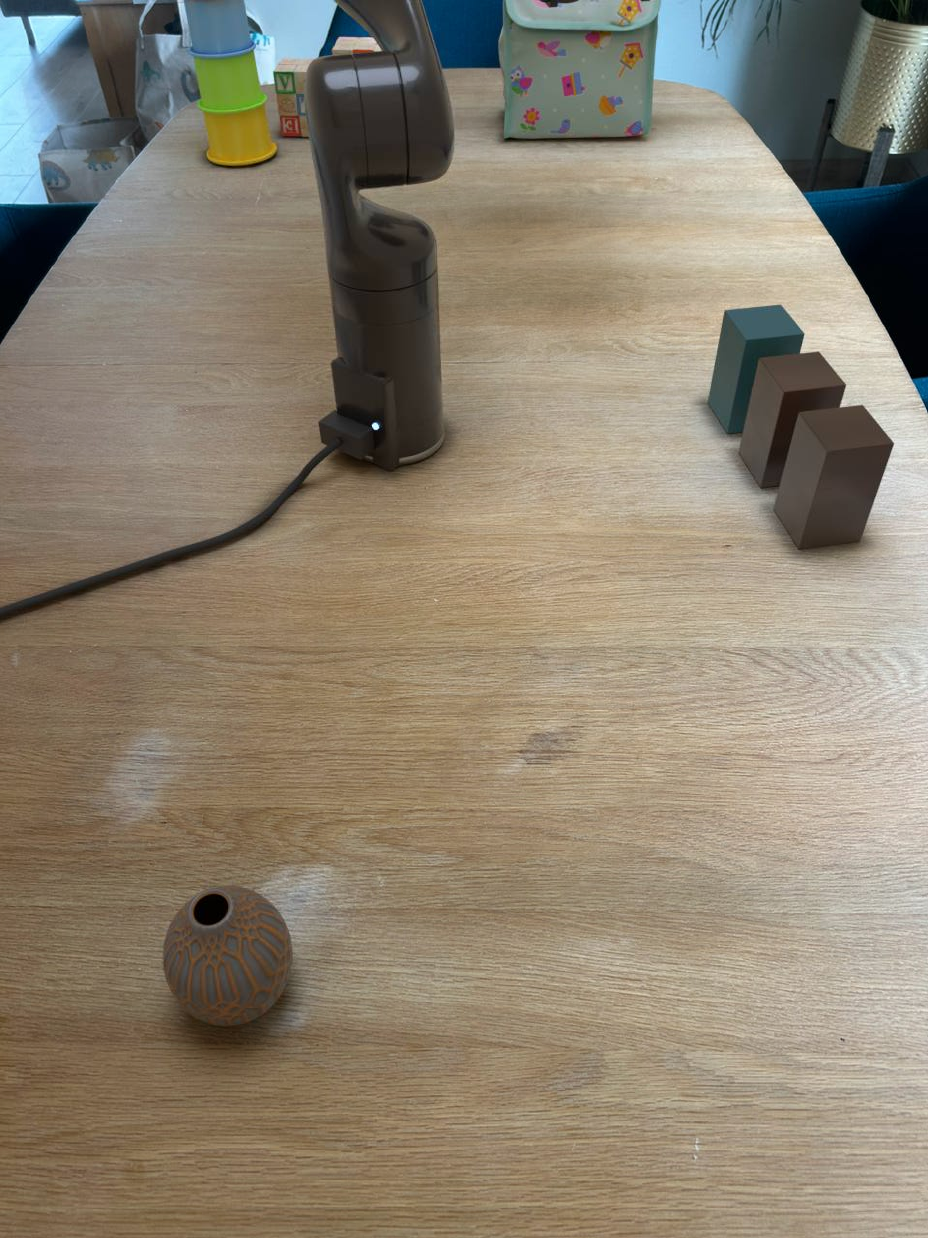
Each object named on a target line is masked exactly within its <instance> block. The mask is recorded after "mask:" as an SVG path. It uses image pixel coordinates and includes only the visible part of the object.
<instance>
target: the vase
mask: <svg viewBox="0 0 928 1238" xmlns="http://www.w3.org/2000/svg"><path fill="white" fill-rule="evenodd" d="M162 948H163V949H162V968H163V973H164V978H165V980H166V983H167V985H168V988H169V990H170V992H171V994H172V995H173V997H174V999H175V1000H176V1001H177V1003H178V1005H180V1006H181V1008H182V1009H183V1010H184V1011H186V1013H188V1014H189V1015H191V1016H192V1017H194V1018H196V1019H197V1020H199V1021H201V1022H203V1023H207V1024H210V1025H214V1026H219V1027H231V1026H232V1027H233V1026H239V1025H243V1024H246V1023H249V1022H252V1021H254V1020H256V1019H257V1018H259V1017H262V1015H264V1014H265V1013H267V1011H269V1010H270V1009H271V1008H272V1007H273V1006H274V1005H275V1004H276V1003H277V1001H278V1000H279V998H280V997H281V996H282V994H283V992H284V991H285V989H286V986H287V984H288V981H289V979H290V976H291V972H292V966H293V959H294V958H293V956H294V954H293V943H292V939H291V934H290V930H289V928H288V925H287V922H286V920H285V919H284V917H283V915H282V914H281V912H280V911H279V909H278V908H277V907H276V906H275V905H274V904H273V903H272V902H271V901H270V900H268V899H267V898H266V897H264V896H263V895H262V894H260V893H258V892H256V890H252V889H249V888H247V887H242V886H239V885H238V886H237V885H222V886H217V887H212V888H211V887H210V888H207V889H204V890H202V891H200V892H199V893H197V894H196V895H195V896H193V897H192V898H190V899H188V900H187V902H186V903H184V904H183V905H182V907H181V908H180V909H179V910H178V911H177V912H176V914H175V915H174V916H173V919H172V920H171V922H170V924H169V926H168V928H167V931H166V934H165V938H164V942H163V947H162Z"/></svg>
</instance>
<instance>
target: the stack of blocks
mask: <svg viewBox="0 0 928 1238" xmlns="http://www.w3.org/2000/svg"><path fill="white" fill-rule="evenodd" d="M378 51H382V50H381V49H380V47H379V45H378V44H377V43H376V41H375V40H374V38H373V37H372V36H371V37H369V36H368V37H366V36H365V37H364V36H363V37H362V36H361V37H357V36H339V37H338V38H337V39H336V41H335V43H334V46H333V47H332V49H331V55H341V54H353V53H366V52H378ZM314 59H315V58H291V57H290V58H289V57H288V58H284V57H283V58H281V59H280V61H279V62H278V63H277V65H276V66H275V68H274V69H273V70H272V75H273V76H272V77H273V82H274V91H275V94H276V103H277V110H278V111H277V112H278V115H279V125H280V133H281V136H282V137H302V138H309V135H308V128H307V121H306V114H305V102H304V81H305V76H306V72H307V68H308V66H309V64H310V63H311V62H312V61H313V60H314Z"/></svg>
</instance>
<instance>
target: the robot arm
mask: <svg viewBox="0 0 928 1238" xmlns="http://www.w3.org/2000/svg"><path fill="white" fill-rule="evenodd" d="M332 1H333V2H334V3H335V4H337V6H338V7H340V8H341V9H342V10H343V11H344V12H345V13H346V14H347V15H349V16H350V17H351V18H352V19H353V20H354V21H356V23H358V24H359V25H360V26H361V27H362V28H363V29H364V30H365V31H366V32H368V34H369V35H370V36H371V37H373V38H374V40H375V41H376V43H377V44H378V45H379V47H380V49H381V50H382V51H378V52H366V53H353V54H341V55H332V54H331V55H323V56H319V57H316V58H313V59H314V60H313V61H312V62H311V63H310V64H309V66H308V68H307V72H306V76H305V81H304V102H305V114H306V121H307V128H308V135H309V137H308V140H309V145H310V151H311V152H310V153H311V159H312V162H313V167H314V168H313V169H314V175H315V180H316V186H317V190H318V191H317V192H318V199H319V203H320V204H319V205H320V210H321V211H320V213H321V218H322V227H323V228H322V229H323V236H324V247H325V258H326V268H327V275H328V284H329V293H330V300H331V311H332V319H333V326H334V327H333V328H334V336H335V344H336V353H337V357H335V358H333V359H332V360H331V362H330V368H331V369H330V370H331V376H332V377H331V378H332V385H333V392H334V394H333V395H334V401H335V408H336V409H333V410H332V411H331V412H329V413H328V414H327V415H325V416H324V417H323V418H321V419H319V420H318V430H319V437H320V442H321V444H323V445H326V446H325V447H324V448H322V449H321V450H320V451H319V452H318V453H317V454H315V455H314V456H313V457H312V458H311V459H310V460H309V461H308V462H307V463H306V464H305V466H304V467H303V468H302V469H301V471H300V472H299V473H298V474H297V476H296V477H295V478H293V480H292V481H291V482H290V483H289V484H288V486H287V487H285V489H284V490H283V491H282V492H281V493H280V494H279V496H277V498H276V499H274V501H273V502H271V503H270V505H268V506H267V507H266V508H265V509H264V510H262V511H261V512H260V513H258V514H257V515H255V516H254V517H252V518H251V519H249V520H248V521H246V522H244V523H243V524H240V525H239V526H237V527H234V528H233V529H231V530H229V531H227V532H224V533H222V534H219V535H217V536H213V537H210V538H207V539H204V540H200V541H198V542H197V541H196V542H194V543H191V544H187V545H184V546H180V547H176V548H173V549H170V550H167V551H164V552H161V553H158V554H155V555H151V556H149V557H146V558H143V559H140V560H138V561H134V562H131V563H129V564H125V565H122V566H119V567H116V568H113V569H109V570H107V571H104V572H101V573H98V574H95V575H92V576H89V577H86V578H84V579H80V580H76V581H74V582H70V583H68V584H66V585H63V586H59V587H57V588H53V589H50V590H48V591H45V592H41V593H39V594H35V595H33V596H29V597H27V598H24V599H21V600H18V601H15V602H13V603H9V604H6V605H3V606H1V607H0V619H1V618H4V617H6V616H10V615H12V614H14V613H19V612H21V611H23V610H26V609H29V608H32V607H35V606H37V605H41V604H44V603H46V602H49V601H52V600H56V599H59V598H61V597H65V596H68V595H70V594H73V593H75V592H78V591H82V590H84V589H88V588H91V587H94V586H96V585H97V586H98V585H100V584H102V583H105V582H109V581H112V580H114V579H117V578H121V577H123V576H127V575H130V574H133V573H136V572H138V571H142V570H145V569H147V568H150V567H154V566H156V565H159V564H162V563H164V562H167V561H171V560H174V559H177V558H180V557H181V558H182V557H183V556H187V555H191V554H194V553H198V552H202V551H204V550H208V549H211V548H214V547H218V546H219V545H222V544H225V543H228V542H230V541H232V540H234V539H236V538H238V537H241V536H242V535H244V534H246V533H248V532H249V531H251V530H253V529H254V528H256V527H257V526H259V525H260V524H262V523H263V522H265V521H266V520H267V519H268V518H270V517H271V516H272V515H273V514H274V513H276V512H277V511H278V510H279V509H280V507H281V506H282V505H283V504H284V503H285V502H286V501H287V500H288V499H289V498H290V496H292V495H293V493H294V492H296V491H297V489H298V488H299V487H300V486H302V484H303V483H304V482H305V481H306V480H307V478H308V477H309V475H310V474H311V473H312V471H313V470H314V469H316V467H317V466H318V465H319V464H320V463H322V462H323V461H324V460H325V459H326V458H328V456H330V455H331V454H332V453H333V452H334V451H336V450H337V451H339V452H341V453H343V454H346V455H349V456H351V457H353V458H355V459H357V460H360V461H362V460H364V461H366V462H368V463H372V464H374V465H377V466H379V467H380V468H383V469H385V470H387V471H394V470H395V469H397V467H400V466H403V465H408V464H413V463H417V462H419V461H422V460H424V459H426V458H428V457H431V456H432V455H433V454H435V453H436V452H437V451H438V450H439V449H440V448H441V446H442V445H443V443H444V441H445V435H446V434H445V433H446V432H445V431H446V430H445V424H444V411H443V383H442V382H443V379H442V356H441V355H442V354H441V353H442V352H441V328H440V327H441V325H440V302H439V301H440V299H439V298H440V297H439V296H440V294H439V292H440V291H439V270H438V269H439V266H438V244H437V237H436V235H435V232H434V231H433V229H432V228H431V226H430V225H429V224H427V222H425V221H424V220H422V219H420V218H419V217H418V216H414V215H413V214H410V213H407V212H404V211H400V210H397V209H393V208H390V207H388V206H387V207H386V206H383V205H381V204H378V203H376V202H374V201H372V200H371V199H369V198H367V197H365V196H364V195H363V194H361V193H360V191H363V190H371V189H384V188H393V187H404V186H413V185H420V184H426V183H430V182H433V181H436V180H439V179H441V178H442V177H443V176H445V174H447V172H448V170H449V169H450V166H451V164H452V161H453V158H454V152H455V125H454V116H453V109H452V104H451V98H450V93H449V89H448V84H447V81H446V77H445V74H444V70H443V66H442V63H441V59H440V56H439V53H438V50H437V45H436V43H435V39H434V36H433V32H432V30H431V27H430V24H429V20H428V16H427V13H426V10H425V7H424V3H423V0H332ZM539 1H541V2H545V3H546V5H547V6H548V7H549V8H552V7H557V6H558V3H563V4H567V3H573V2H576V1H579V0H539ZM641 1H642V2H644V1H650V0H641Z"/></svg>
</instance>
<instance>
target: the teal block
mask: <svg viewBox="0 0 928 1238" xmlns="http://www.w3.org/2000/svg"><path fill="white" fill-rule="evenodd" d="M721 322H722V323H721V327H720V333H719V338H718V344H717V350H716V355H715V361H714V366H713V372H712V377H711V382H710V389H709V394H708V398H707V404H708V406H709V408H710V409H711V411H712V412H713V414H714V415H715V417H716V419H717V420H718V422H719V424H720V425H721V427H722V429H723V430H724V432H725V433H726V434H727V435H730V434H738V433H743V430H744V425H745V421H746V416H747V412H748V407H749V403H750V398H751V393H752V389H753V384H754V380H755V375H756V370H757V366H758V361H759V358H763V357H772V356H781V355H791V354H800V353H801V350H802V346H803V343H804V338H805V332H804V331H803V330H802V328H801V327H800V326H799V325H798V323H797V322H796V321H795V320H794V319H793V317H792V316H791V314H790V313H788V311H787V310H786V309H785V307H783V305H782V304H773V305H771V304H770V305H762V306H751V307H742V308H733V309H724V312H723V316H722V321H721Z"/></svg>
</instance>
